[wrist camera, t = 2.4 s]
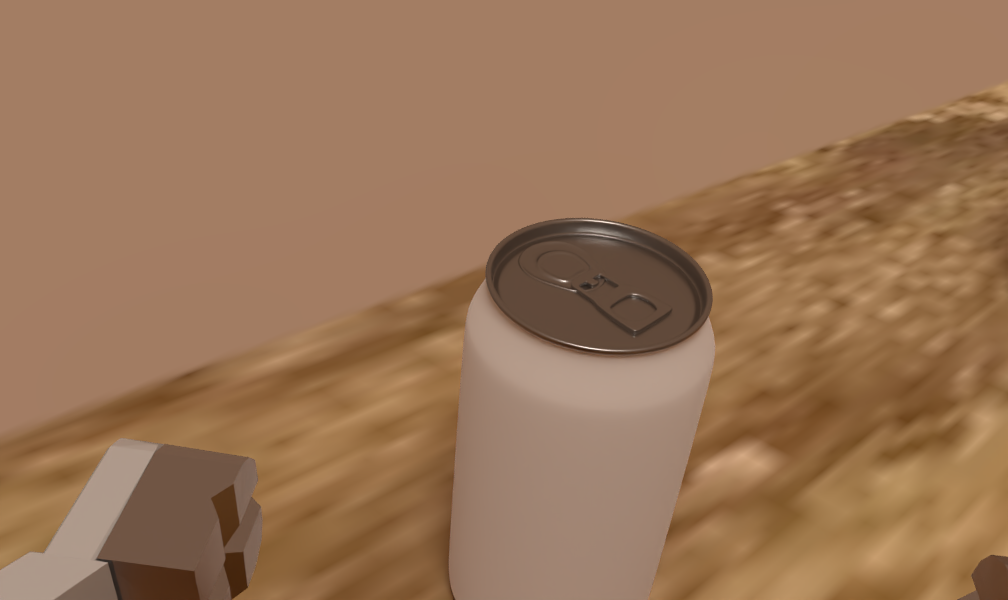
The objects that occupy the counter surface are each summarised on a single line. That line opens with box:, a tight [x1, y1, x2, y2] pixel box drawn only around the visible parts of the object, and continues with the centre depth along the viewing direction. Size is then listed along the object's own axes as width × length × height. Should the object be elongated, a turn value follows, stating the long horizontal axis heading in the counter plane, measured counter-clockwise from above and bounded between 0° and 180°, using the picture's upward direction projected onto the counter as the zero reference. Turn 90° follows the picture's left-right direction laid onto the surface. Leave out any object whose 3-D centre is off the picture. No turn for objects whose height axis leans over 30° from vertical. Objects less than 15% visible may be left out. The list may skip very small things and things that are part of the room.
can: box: [449, 218, 715, 600], centre depth 27 cm, size 6×6×12 cm
